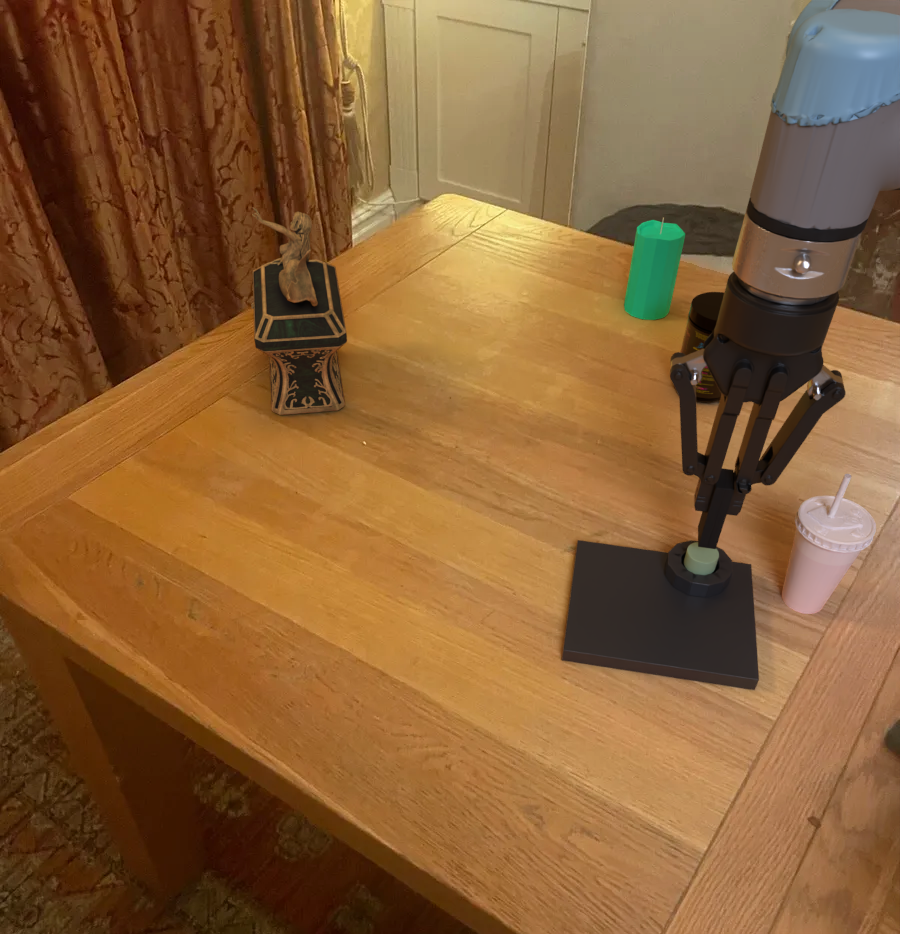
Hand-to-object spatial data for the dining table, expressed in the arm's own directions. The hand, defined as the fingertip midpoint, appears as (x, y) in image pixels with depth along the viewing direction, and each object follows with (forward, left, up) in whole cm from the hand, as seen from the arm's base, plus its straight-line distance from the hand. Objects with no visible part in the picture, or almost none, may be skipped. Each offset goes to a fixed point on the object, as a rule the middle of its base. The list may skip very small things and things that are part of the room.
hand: (706, 537), depth 79 cm
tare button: (0, 0, -3) cm, 3 cm away
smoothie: (-10, 0, -6) cm, 12 cm away
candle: (+6, -52, -6) cm, 52 cm away
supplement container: (-1, -34, -6) cm, 34 cm away
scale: (+3, +4, -6) cm, 8 cm away
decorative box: (+44, -24, -6) cm, 50 cm away
